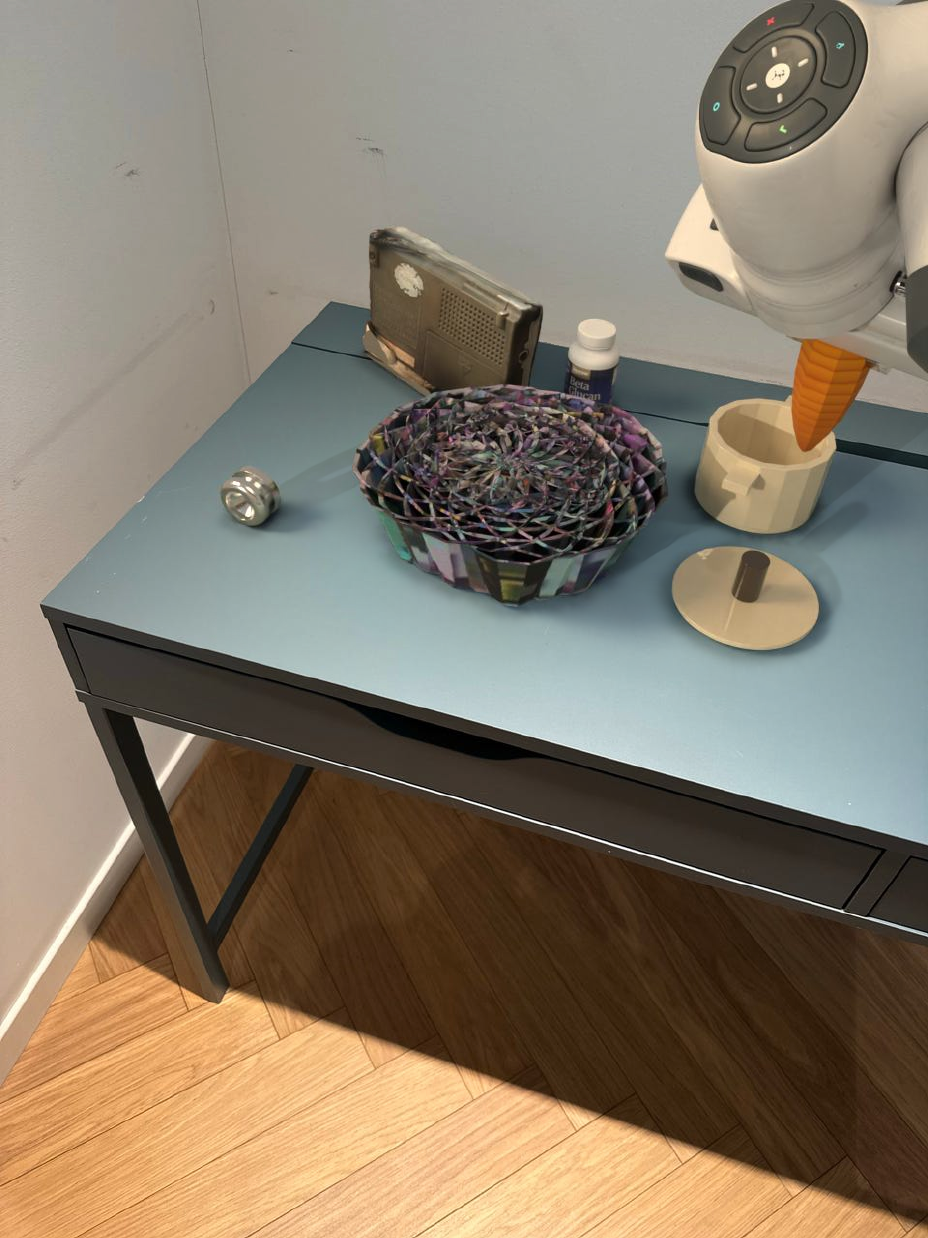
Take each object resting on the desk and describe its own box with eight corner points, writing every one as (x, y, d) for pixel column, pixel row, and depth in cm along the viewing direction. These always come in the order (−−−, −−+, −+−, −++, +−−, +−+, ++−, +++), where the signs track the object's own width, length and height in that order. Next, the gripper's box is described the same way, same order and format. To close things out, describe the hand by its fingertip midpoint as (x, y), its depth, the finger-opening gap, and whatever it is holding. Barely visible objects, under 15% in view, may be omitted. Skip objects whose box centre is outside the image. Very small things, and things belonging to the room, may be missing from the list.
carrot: (840, 440, 73) (911, 246, 62) (835, 477, 69) (910, 279, 59) (773, 426, 74) (833, 233, 63) (766, 462, 70) (827, 265, 60)
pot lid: (835, 590, 86) (852, 547, 82) (785, 677, 79) (802, 634, 75) (704, 537, 91) (715, 494, 87) (646, 615, 83) (656, 571, 80)
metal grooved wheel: (283, 517, 91) (277, 474, 88) (266, 535, 89) (259, 492, 86) (240, 501, 93) (232, 459, 89) (221, 519, 91) (213, 476, 87)
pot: (837, 474, 98) (861, 411, 93) (778, 565, 88) (800, 501, 83) (731, 436, 103) (747, 374, 97) (663, 519, 93) (677, 454, 87)
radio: (546, 420, 104) (559, 290, 93) (484, 448, 100) (490, 315, 89) (419, 333, 116) (417, 209, 106) (359, 354, 113) (351, 228, 102)
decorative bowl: (616, 676, 81) (644, 592, 73) (311, 586, 84) (308, 498, 77) (662, 495, 98) (689, 414, 91) (407, 428, 102) (413, 344, 94)
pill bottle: (559, 419, 104) (568, 337, 97) (564, 393, 108) (573, 312, 101) (609, 425, 104) (622, 343, 97) (612, 398, 107) (624, 317, 100)
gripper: (1041, 258, 49) (1020, 357, 61) (692, 153, 58) (735, 258, 70) (974, 370, 49) (967, 446, 62) (640, 249, 58) (692, 336, 71)
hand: (841, 345), depth 66 cm, fingers closed on carrot, 4 cm apart
